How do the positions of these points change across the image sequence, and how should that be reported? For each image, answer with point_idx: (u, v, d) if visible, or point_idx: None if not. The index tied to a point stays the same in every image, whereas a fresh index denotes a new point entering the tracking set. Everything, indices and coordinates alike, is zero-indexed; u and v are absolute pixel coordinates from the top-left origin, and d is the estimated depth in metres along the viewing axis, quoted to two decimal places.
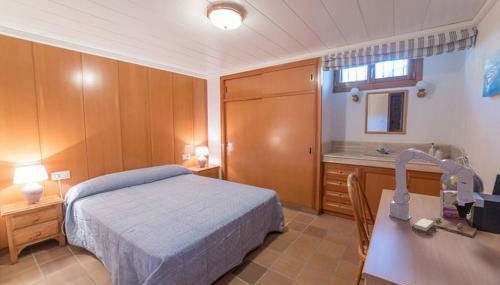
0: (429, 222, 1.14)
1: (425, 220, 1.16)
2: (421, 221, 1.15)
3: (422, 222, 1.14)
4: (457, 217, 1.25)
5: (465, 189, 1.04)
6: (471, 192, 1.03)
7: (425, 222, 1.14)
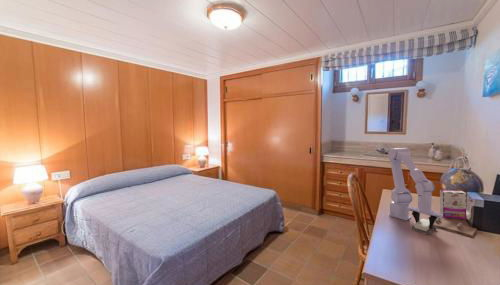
0: None
1: (425, 220, 1.16)
2: (421, 221, 1.15)
3: (422, 222, 1.14)
4: (457, 217, 1.25)
5: (420, 201, 1.13)
6: (419, 203, 1.13)
7: (425, 222, 1.14)
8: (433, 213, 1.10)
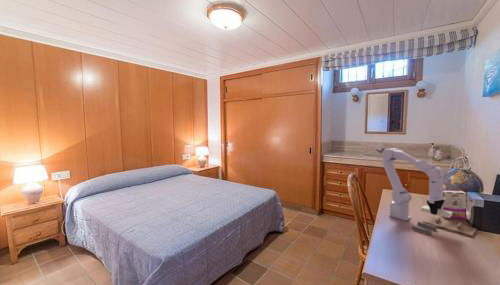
0: None
1: (427, 207, 1.17)
2: None
3: None
4: (457, 217, 1.25)
5: (434, 188, 1.12)
6: (441, 191, 1.11)
7: None
8: None
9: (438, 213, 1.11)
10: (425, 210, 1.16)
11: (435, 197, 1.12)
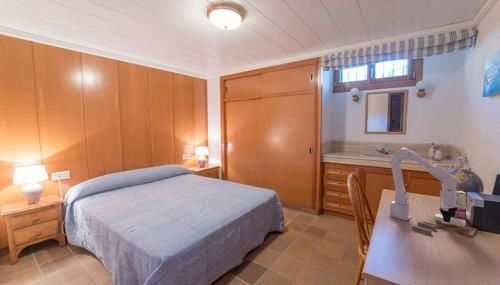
0: None
1: (440, 216, 1.18)
2: None
3: None
4: (457, 217, 1.25)
5: (451, 196, 1.13)
6: (454, 198, 1.12)
7: None
8: None
9: (452, 222, 1.13)
10: (438, 218, 1.18)
11: (449, 204, 1.13)
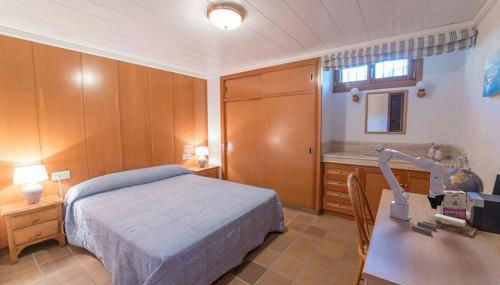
0: (444, 216, 1.18)
1: (440, 216, 1.18)
2: (447, 218, 1.15)
3: (450, 218, 1.15)
4: (457, 217, 1.25)
5: (437, 183, 1.15)
6: (441, 185, 1.15)
7: (448, 217, 1.16)
8: None
9: (452, 222, 1.13)
10: (438, 218, 1.18)
11: (436, 192, 1.16)
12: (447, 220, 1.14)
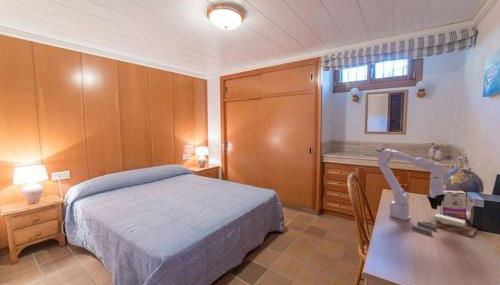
0: (444, 216, 1.18)
1: (440, 216, 1.18)
2: (447, 218, 1.15)
3: (450, 218, 1.15)
4: (457, 217, 1.25)
5: (437, 183, 1.15)
6: (441, 185, 1.15)
7: (448, 217, 1.16)
8: None
9: (452, 222, 1.13)
10: (438, 218, 1.18)
11: (436, 192, 1.16)
12: (447, 220, 1.14)
